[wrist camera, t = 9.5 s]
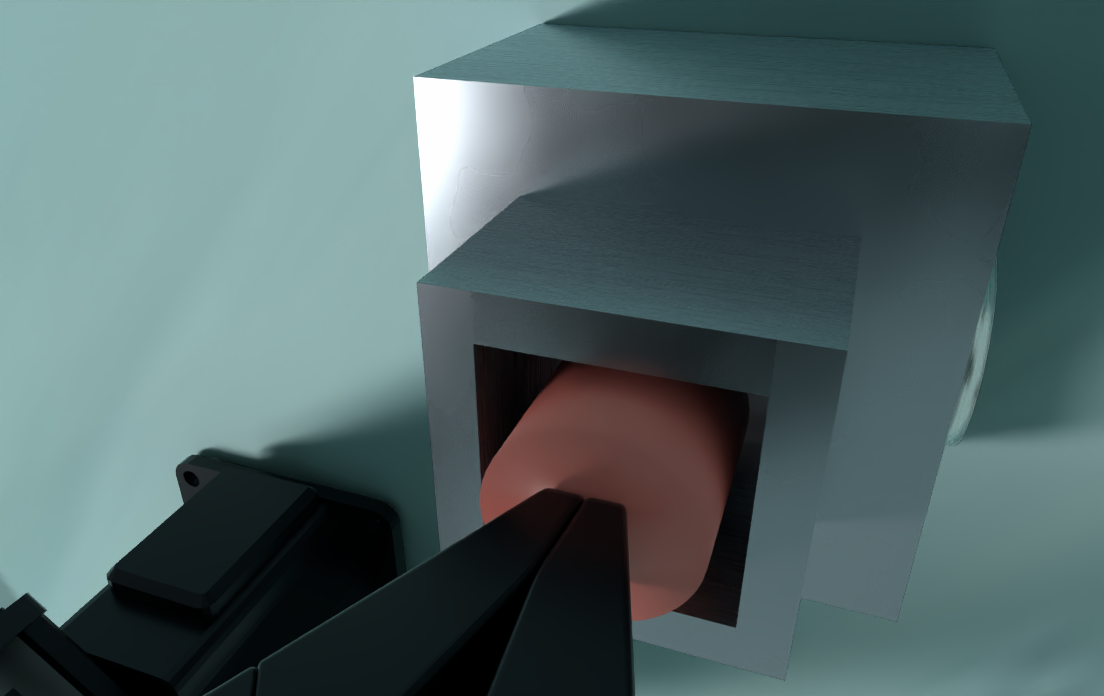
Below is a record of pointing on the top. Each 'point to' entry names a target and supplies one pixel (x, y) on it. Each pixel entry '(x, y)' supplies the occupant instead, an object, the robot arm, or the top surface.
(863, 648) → the top surface
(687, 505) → the plunger
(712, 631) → the grey piece
